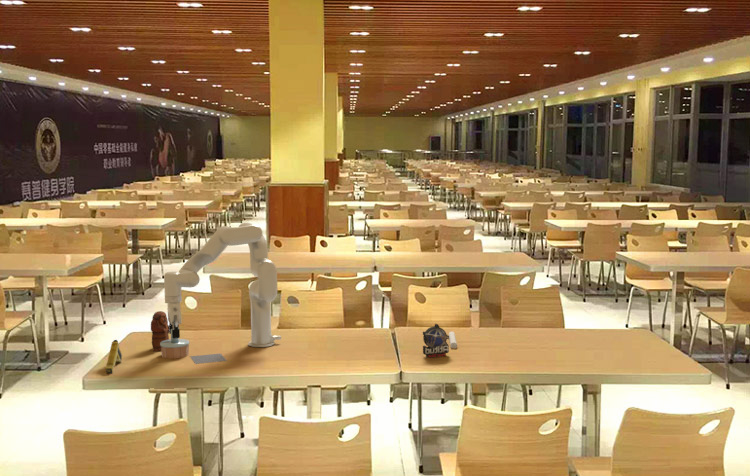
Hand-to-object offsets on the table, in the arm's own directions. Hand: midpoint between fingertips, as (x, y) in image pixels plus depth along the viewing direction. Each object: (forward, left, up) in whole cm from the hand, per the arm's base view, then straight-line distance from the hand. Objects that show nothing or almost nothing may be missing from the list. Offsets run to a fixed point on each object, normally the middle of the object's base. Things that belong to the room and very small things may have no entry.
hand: (174, 335), depth 380 cm
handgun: (+28, +10, -10) cm, 31 cm away
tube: (-130, +26, -10) cm, 132 cm away
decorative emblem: (-110, +47, -10) cm, 120 cm away
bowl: (0, 0, -10) cm, 10 cm away
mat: (-13, +12, -10) cm, 20 cm away
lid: (0, 0, -4) cm, 4 cm away
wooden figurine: (+4, -17, -10) cm, 20 cm away
